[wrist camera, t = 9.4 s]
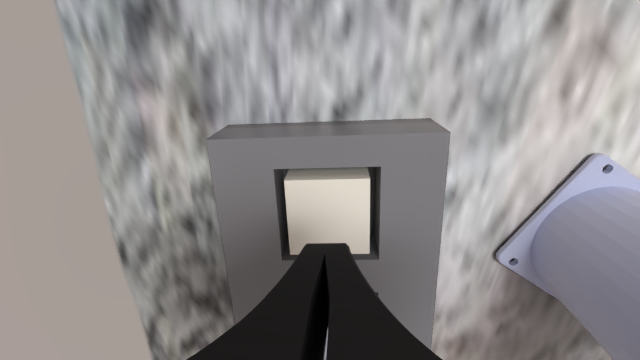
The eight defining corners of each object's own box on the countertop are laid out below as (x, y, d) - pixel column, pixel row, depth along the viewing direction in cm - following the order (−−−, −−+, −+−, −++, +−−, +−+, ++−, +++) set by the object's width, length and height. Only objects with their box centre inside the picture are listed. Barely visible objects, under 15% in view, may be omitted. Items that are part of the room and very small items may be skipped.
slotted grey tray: (228, 125, 19) (205, 139, 16) (430, 118, 18) (450, 132, 15) (266, 406, 26) (256, 456, 23) (410, 409, 26) (420, 460, 23)
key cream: (290, 164, 18) (284, 180, 16) (365, 162, 18) (370, 178, 16) (295, 230, 20) (290, 254, 17) (365, 229, 19) (369, 253, 17)
